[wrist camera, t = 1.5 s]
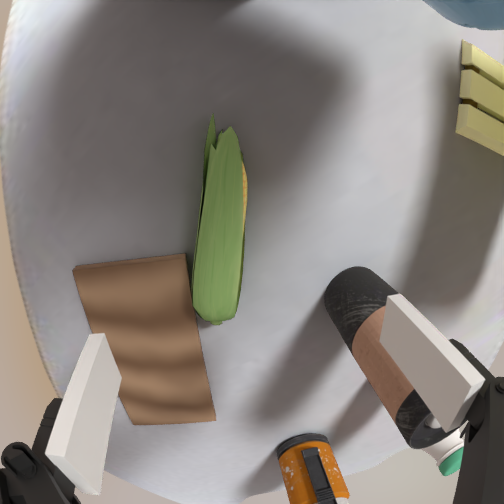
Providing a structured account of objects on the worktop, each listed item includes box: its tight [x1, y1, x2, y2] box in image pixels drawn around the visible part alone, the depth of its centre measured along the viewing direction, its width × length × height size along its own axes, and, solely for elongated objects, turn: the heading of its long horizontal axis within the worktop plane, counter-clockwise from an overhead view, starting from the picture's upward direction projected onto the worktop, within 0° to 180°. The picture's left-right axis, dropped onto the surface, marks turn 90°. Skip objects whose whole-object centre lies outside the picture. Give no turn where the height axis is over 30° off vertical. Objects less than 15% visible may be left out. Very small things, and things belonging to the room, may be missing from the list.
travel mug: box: [325, 267, 467, 449], centre depth 27 cm, size 8×8×20 cm
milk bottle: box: [422, 428, 464, 476], centre depth 33 cm, size 8×8×20 cm
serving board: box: [72, 253, 216, 425], centre depth 34 cm, size 24×12×1 cm, turn 3°
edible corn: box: [191, 114, 247, 325], centre depth 29 cm, size 5×20×5 cm
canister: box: [277, 434, 349, 504], centre depth 37 cm, size 9×11×20 cm
